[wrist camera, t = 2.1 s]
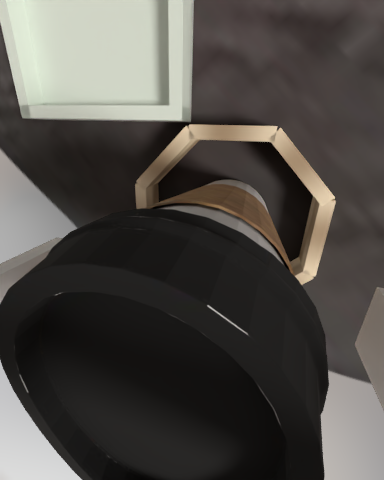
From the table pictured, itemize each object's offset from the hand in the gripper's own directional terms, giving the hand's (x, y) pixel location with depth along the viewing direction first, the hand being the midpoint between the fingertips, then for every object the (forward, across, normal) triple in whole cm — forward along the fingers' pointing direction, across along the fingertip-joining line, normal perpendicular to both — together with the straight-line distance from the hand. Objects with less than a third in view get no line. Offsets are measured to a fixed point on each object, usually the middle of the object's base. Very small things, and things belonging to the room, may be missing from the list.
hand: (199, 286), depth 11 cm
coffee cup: (+9, 0, 0) cm, 9 cm away
